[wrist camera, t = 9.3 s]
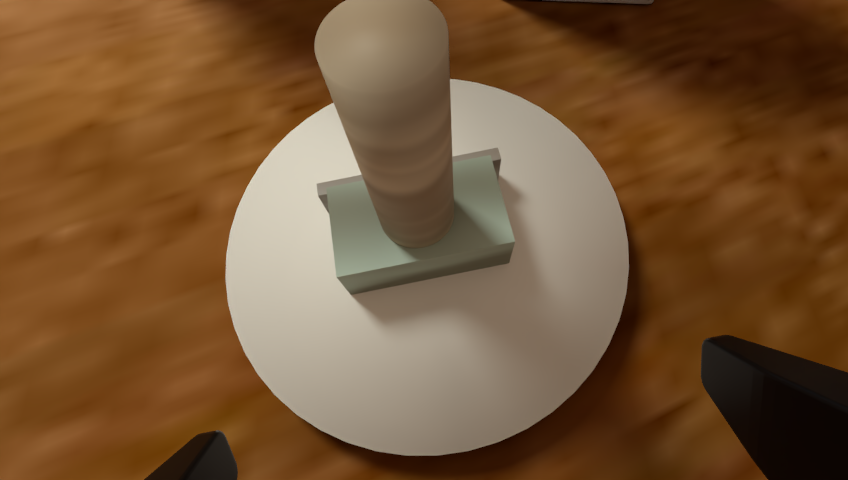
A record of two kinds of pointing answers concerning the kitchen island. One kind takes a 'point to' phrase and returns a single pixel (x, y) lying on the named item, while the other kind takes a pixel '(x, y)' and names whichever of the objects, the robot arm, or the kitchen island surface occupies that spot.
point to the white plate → (432, 291)
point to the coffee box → (611, 1)
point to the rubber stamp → (404, 153)
